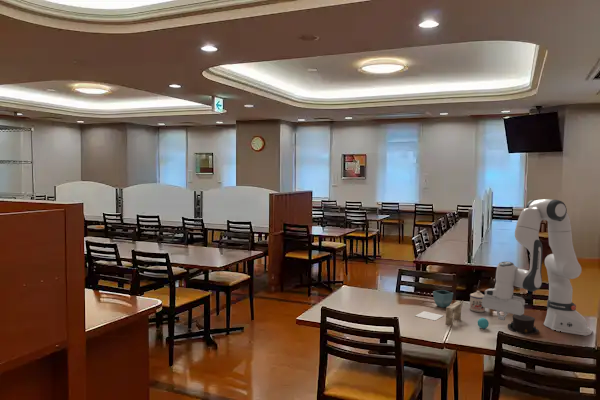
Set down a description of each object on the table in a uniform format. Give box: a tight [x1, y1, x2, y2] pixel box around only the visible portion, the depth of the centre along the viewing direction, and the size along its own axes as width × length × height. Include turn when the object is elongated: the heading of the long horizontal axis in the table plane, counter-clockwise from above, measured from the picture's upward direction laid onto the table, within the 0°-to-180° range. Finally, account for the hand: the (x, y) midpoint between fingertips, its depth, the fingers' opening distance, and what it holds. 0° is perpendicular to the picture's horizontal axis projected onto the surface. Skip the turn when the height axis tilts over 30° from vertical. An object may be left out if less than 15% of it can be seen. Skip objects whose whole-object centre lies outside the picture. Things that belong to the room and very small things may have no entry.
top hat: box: [507, 314, 540, 335], centre depth 244 cm, size 15×15×10 cm
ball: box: [477, 317, 490, 330], centre depth 245 cm, size 6×6×6 cm
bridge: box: [445, 301, 462, 326], centre depth 255 cm, size 3×14×9 cm, turn 141°
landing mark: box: [414, 310, 444, 322], centre depth 264 cm, size 12×12×1 cm
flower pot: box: [432, 289, 454, 309], centre depth 283 cm, size 9×9×9 cm
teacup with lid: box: [469, 290, 486, 313], centre depth 277 cm, size 12×9×12 cm
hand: (501, 319), depth 238 cm, fingers closed
